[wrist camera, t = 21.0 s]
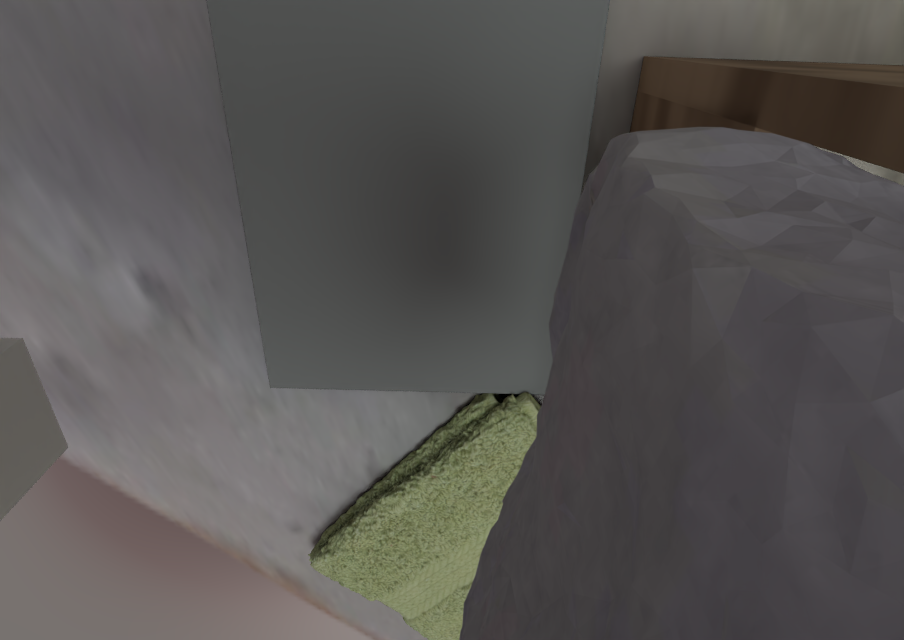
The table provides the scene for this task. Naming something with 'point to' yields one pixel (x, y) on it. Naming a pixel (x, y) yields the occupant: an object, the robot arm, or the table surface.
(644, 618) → the stone block
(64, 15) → the table surface
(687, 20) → the table surface
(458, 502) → the washcloth
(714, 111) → the walnut rack
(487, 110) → the charcoal panel
